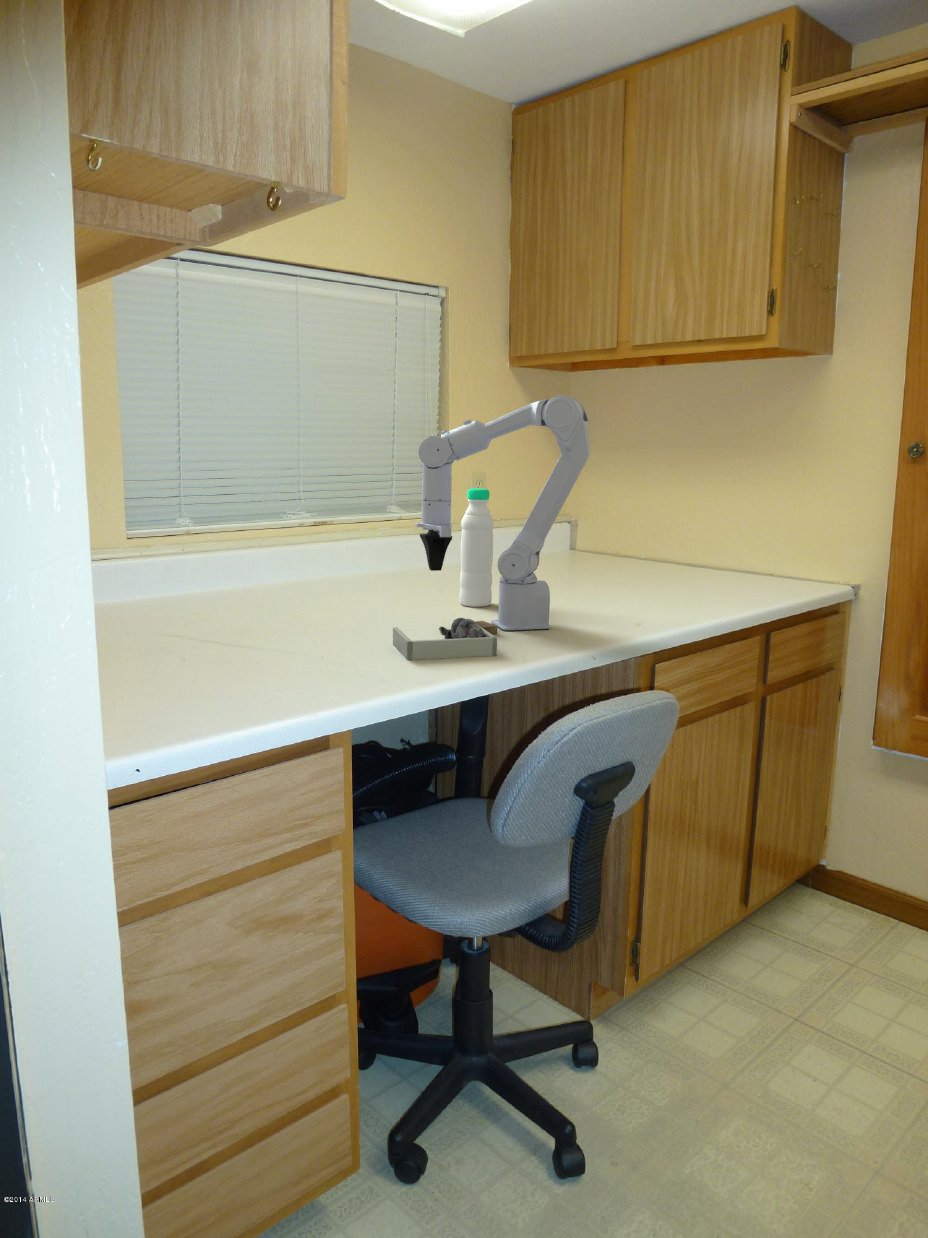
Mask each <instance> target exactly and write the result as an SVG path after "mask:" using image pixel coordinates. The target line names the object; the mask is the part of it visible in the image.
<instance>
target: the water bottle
mask: <svg viewBox="0 0 928 1238" xmlns="http://www.w3.org/2000/svg"><path fill="white" fill-rule="evenodd" d="M466 497H467V502H468V506H467V509H466V510H465V513H464V514H463V517H462V519H461V521H460V527H461V536H460V556H459V557H460V575H459V585H460V587H459V597H458V601H459V604H461V605H462V606H464V607H468V608H469V607H471V608H483V607H488V606H490V605H491V604H492V600H493V598H492V595H493V594H492V591H493V590H492V584H493V573H492V571H493V570H492V569H493V560H494V530H493V529H494V528H495V521H494V519H493V517H492V515H491V511H490V509H489V507H488V502H489V500H490V490H489V489H487V488H481V487H480V488H478V487H477V488H469V489H468V490H467V492H466Z"/></svg>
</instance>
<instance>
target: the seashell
mask: <svg viewBox="0 0 928 1238" xmlns="http://www.w3.org/2000/svg"><path fill="white" fill-rule="evenodd" d="M438 630H439V633H440V635H441V636H444V638H443V639H460V638H482V637H486V635H485V634H484V631H483V630H482V628H481V627H480V626H478V625H477V624H476V623H475V621H474V620H473V619H470V618H468V617H467V618H464V617H457V618H455V619H454V620H453V621H452V623H451V626H450V629H446V627H444V626H439V628H438Z"/></svg>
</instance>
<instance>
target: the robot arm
mask: <svg viewBox="0 0 928 1238" xmlns="http://www.w3.org/2000/svg"><path fill="white" fill-rule="evenodd" d="M589 422H590V419H589V417H588V415H587V412H586V410H585V408H584V406H583V403H581V402H580V401H579V400H578V399H577V398H573V397H570V396H567V395H563V394H558V395H554V396H553V397H551V398H550V399H548V398H546V399H542V400H538V401H537V400H536V401H535V402H531V403H528V404H526V405H524V406H522V407H520V408H517V409H515V410H513V411H511V412H508V413H506V414H503V415H502V416H500V417H496V418H495V419H493V420H491V421H489V422H486V423H484V422H482V421H480V420H477V419H475V420H473V421H472V419H466V420H464V421H463V422H462V423H463V425H460V426H458V427H456V428H453V429H451V430H448V429H444V430H441V431H440V434H441V435H440V436H438V435H429V436H428V437H427V438H426V439H424V440H423V441H422V442H421V443H420V445H419V446H418V447H419V448H418V456H419V459H420V461H421V463H422V474H421V518H420V519H421V522H415V527H417V528H421V530H423V531H425V530H426V531H427V533H419V538H420V539H421V542H422V544H423V546H424V551H425V554H426V560H427V565H428V569H429V570H430V571H433V572H436V571H438V572H439V571H442V569H443V566H444V561H445V557H446V556H445V555H446V553H447V550H448V548H449V545H450V544H451V541H452V540H453V535H452V527H453V523H452V484H453V483H452V482H453V481H452V480H453V476H452V464H454V462H455V461H460V460H463V459H464V458H467V457H471V456H473V455H475V454H477V453H480V452H482V451H483V452H484V451H485V450H487V449H488V448H489V447H490V444H491V443H492V440H494V439H497V438H500V437H502V436H506V435H508V434H511V433H514V432H516V431H520V430H522V429H525V428H527V427H530V426H531V427H532V426H537V427H544V428H548V429H549V430H550V431H551V433H552V434H553V435H554V437H555V439H556V442H557V444H558V445H557V446H558V448H559V450H560V455H559V458H558V459H557V461H556V464H555V466H554V467H553V469H552V471H551V473H550V475H549V477H548V478H547V480H546V482H545V484H544V485H543V488H542V490H541V492H540V493H539V496H538V497H537V500H536V501H535V503H534V505H533V508H532V509H531V511H530V513H529V515H528V516H527V519H526V520H525V522H524V524H523V526H522V528H521V530H520V531H519V532H518V534H517V535H516V537H515V538H514V540H513V541H512V542H511V544H510V546H509V547H508V548H506V550H504V551H503V552H502V553H501V554H500V555H499V557H498V560H497V570H498V572H499V574H500V575H501V576H500V577H499V581H498V582H499V583H498V584H499V586H498V611H497V613H498V614H497V616H498V617H497V619H491V620H490V623H491V624H494V625H497V626H498V629H501V630H502V631H521V630H522V631H526V630H545V629H546V630H547V629H551V625H550V608H551V607H550V606H551V605H550V604H551V603H550V602H551V592H550V587H549V583H547V581H545V580H538V577H537V576H536V573H535V571H536V570H537V569H538V567H539V565H540V555H541V552H542V550H543V547H544V544H545V541H546V538H547V537H548V534H549V532H550V531H551V529H552V528H553V527H552V526H554V524H555V522H556V519H557V517H558V515H559V514H560V512H561V510H562V508H563V507H564V504H565V502H566V501H567V500H568V498H569V495H570V494H571V492H572V490H573V488H574V486H575V484H576V483H577V480H578V478H579V477H580V475H581V472H582V471H583V469H584V467H585V466H586V463H587V461H588V460H589V458H590V456H591V446H590V445H591V444H590V443H591V442H590V430H589V428H590V427H589V424H590V423H589Z"/></svg>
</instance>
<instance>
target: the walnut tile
mask: <svg viewBox="0 0 928 1238" xmlns="http://www.w3.org/2000/svg"><path fill="white" fill-rule="evenodd" d="M475 623H476V624H477V625H479V626H480V627H482V628H483V629H485V630H486V631H488V632H489V633H491V634H492V635H494V636H495V635H498V629H499V627H498V626H497V625H495V624H493V623H492V622H488V621H484V620H477V621H475Z"/></svg>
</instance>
